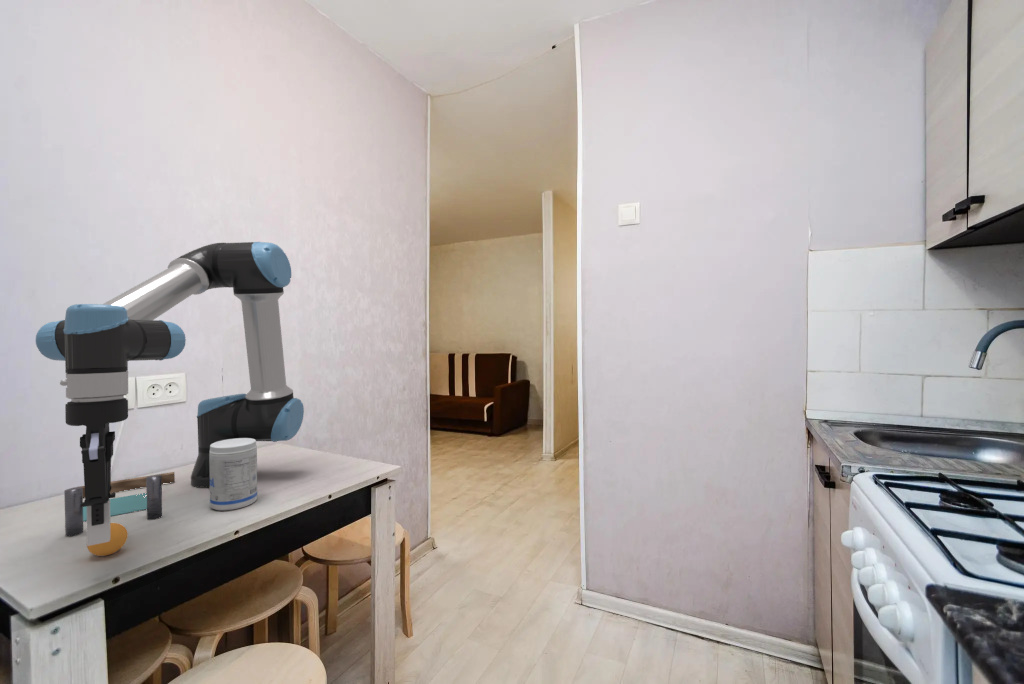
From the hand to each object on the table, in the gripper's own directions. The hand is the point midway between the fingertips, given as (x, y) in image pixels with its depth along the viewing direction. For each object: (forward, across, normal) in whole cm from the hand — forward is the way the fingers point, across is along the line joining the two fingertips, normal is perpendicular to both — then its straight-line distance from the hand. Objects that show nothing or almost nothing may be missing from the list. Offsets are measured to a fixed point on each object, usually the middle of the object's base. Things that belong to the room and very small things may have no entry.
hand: (98, 542), depth 73 cm
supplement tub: (+6, -24, +21) cm, 33 cm away
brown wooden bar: (+5, -54, 0) cm, 54 cm away
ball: (+3, -10, 0) cm, 10 cm away
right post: (+5, -26, +7) cm, 27 cm away
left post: (+6, -26, -6) cm, 27 cm away
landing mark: (+5, -40, 0) cm, 40 cm away
